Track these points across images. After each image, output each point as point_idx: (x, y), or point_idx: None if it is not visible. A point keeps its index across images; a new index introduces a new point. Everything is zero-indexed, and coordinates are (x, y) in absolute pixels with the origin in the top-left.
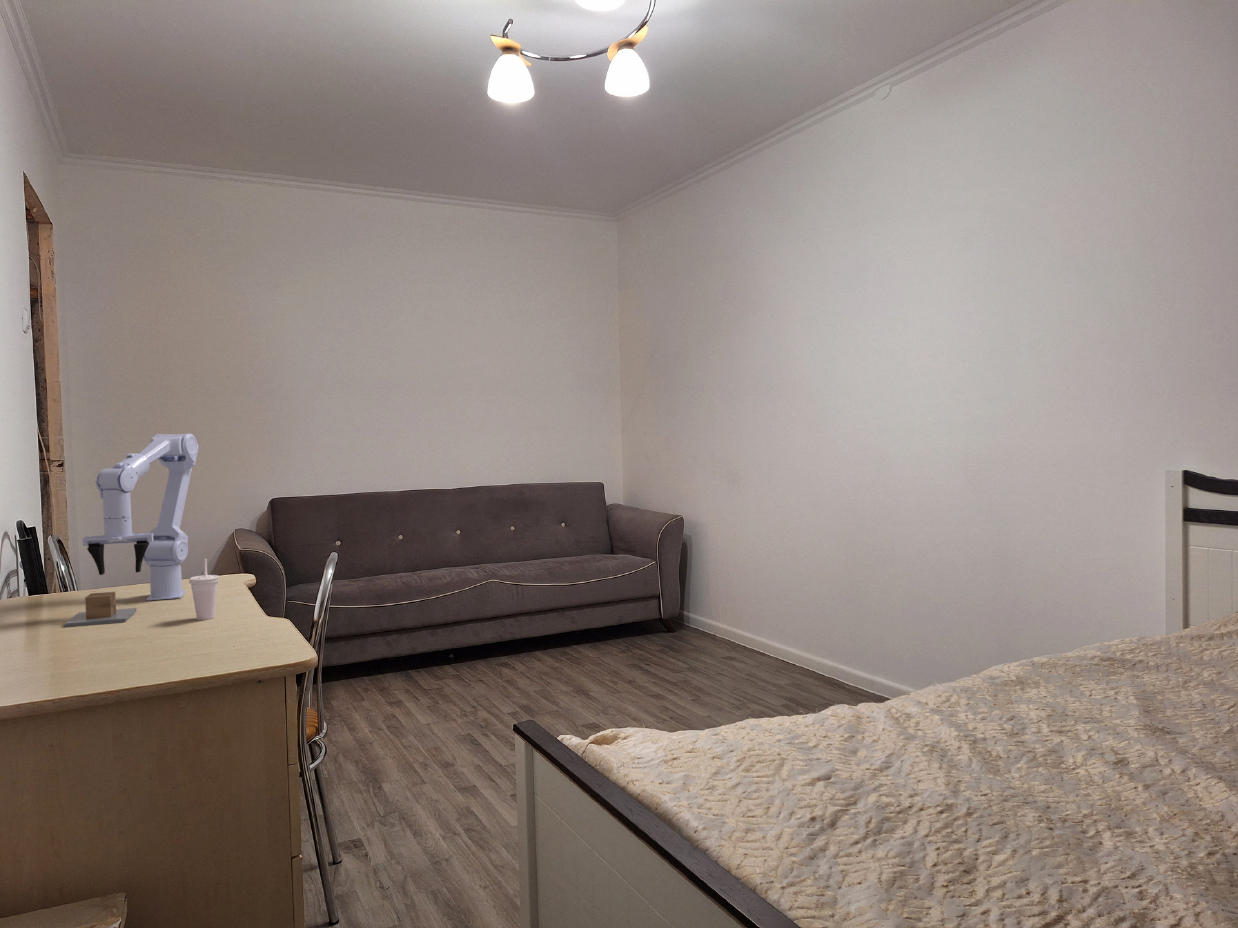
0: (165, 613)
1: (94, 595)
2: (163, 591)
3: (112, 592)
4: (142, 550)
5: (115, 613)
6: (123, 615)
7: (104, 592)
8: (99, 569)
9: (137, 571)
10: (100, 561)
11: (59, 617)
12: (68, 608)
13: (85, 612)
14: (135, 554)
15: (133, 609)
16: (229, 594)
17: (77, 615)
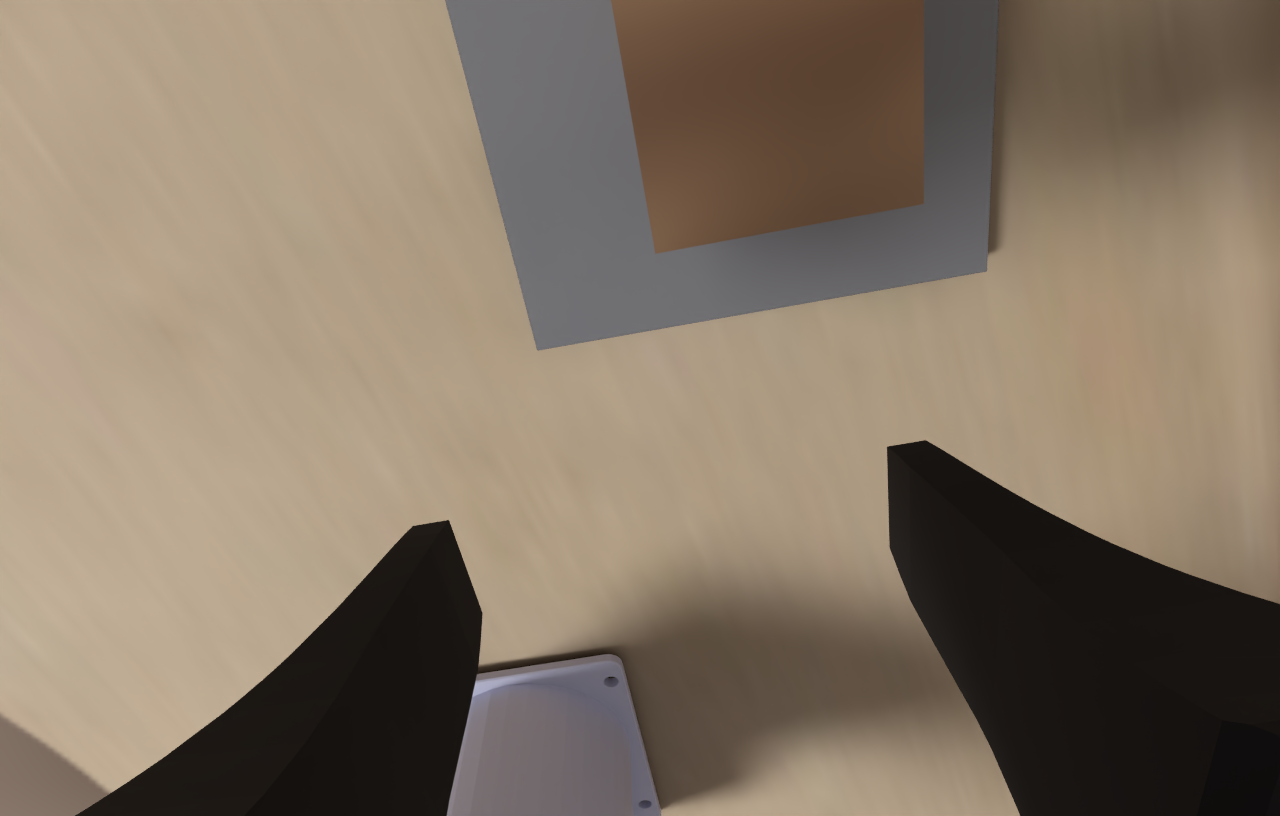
0: (203, 179)
1: (837, 31)
2: (505, 722)
3: (670, 206)
4: (105, 808)
5: (628, 135)
6: (500, 7)
7: (773, 230)
8: (955, 470)
9: (422, 528)
10: (996, 558)
11: (1122, 228)
12: (1106, 537)
13: (928, 251)
14: (313, 716)
15: (531, 285)
16: (111, 744)
17: (968, 125)
